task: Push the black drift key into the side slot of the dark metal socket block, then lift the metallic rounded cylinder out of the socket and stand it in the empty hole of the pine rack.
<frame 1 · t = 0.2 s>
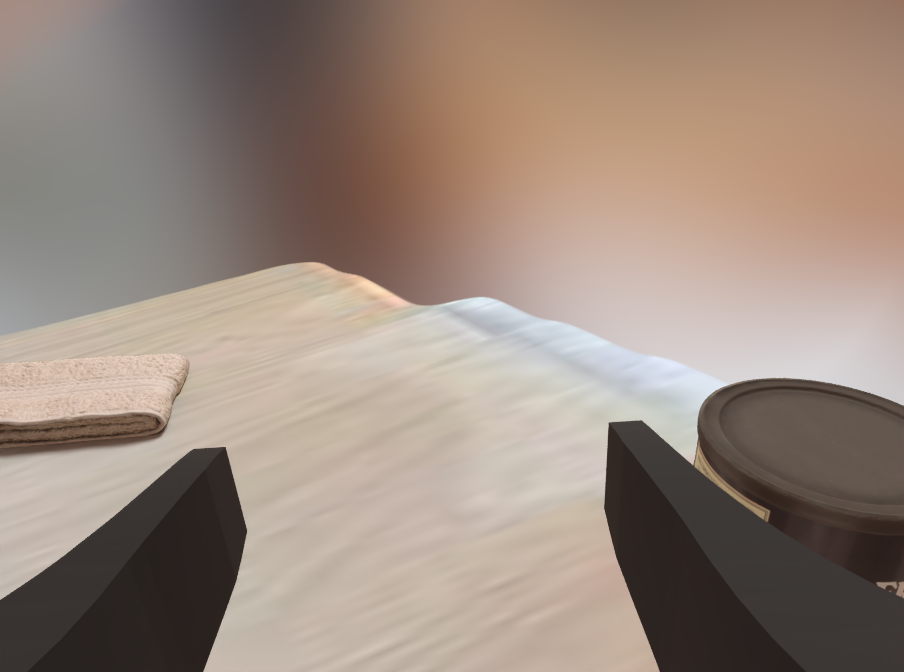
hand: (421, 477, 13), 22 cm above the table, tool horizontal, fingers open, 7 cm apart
washcloth: (75, 413, 58), on the table
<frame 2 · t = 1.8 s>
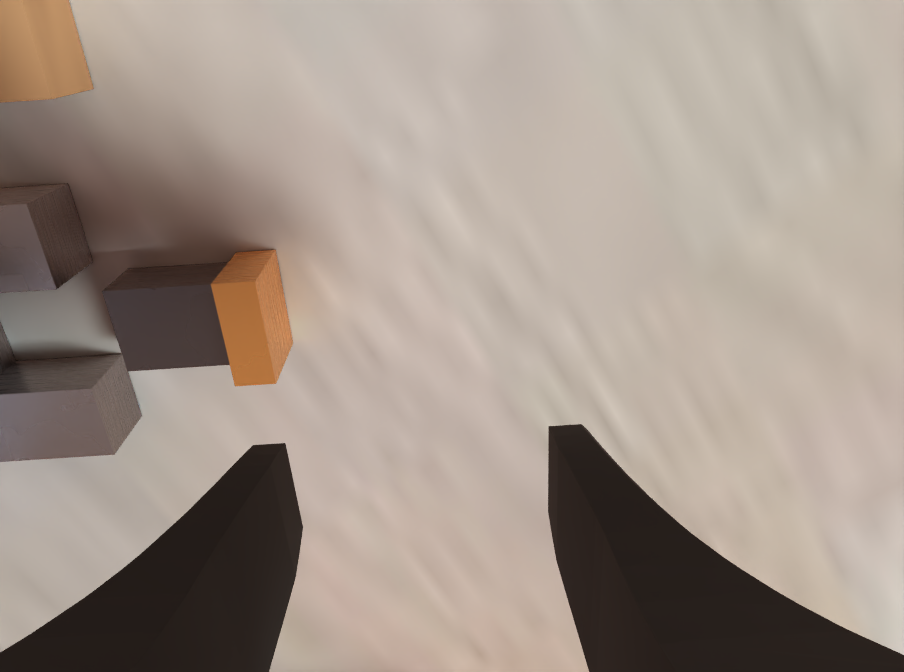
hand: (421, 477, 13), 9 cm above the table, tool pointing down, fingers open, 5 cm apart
drift key: (199, 320, 20), point 1 cm above the table, slide at 0.0 cm
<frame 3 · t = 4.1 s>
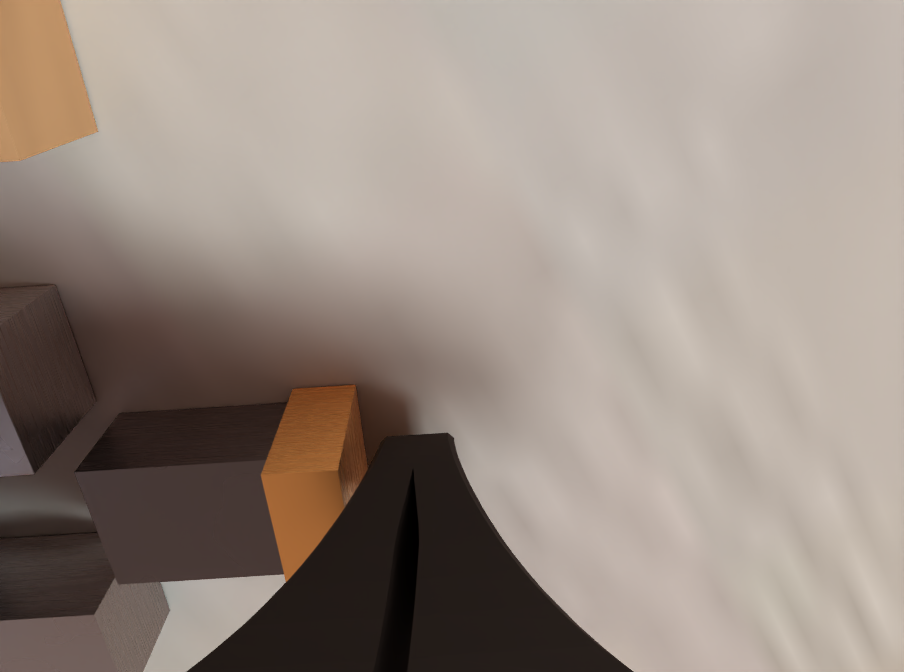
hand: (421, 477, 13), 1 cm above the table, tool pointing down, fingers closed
drift key: (234, 504, 12), point 1 cm above the table, slide at 0.7 cm, touching gripper
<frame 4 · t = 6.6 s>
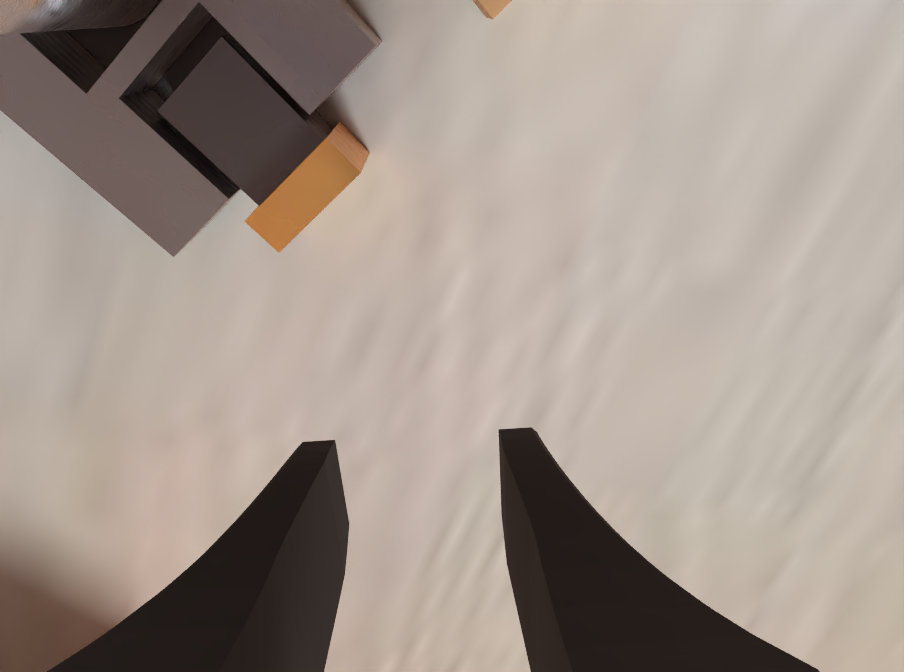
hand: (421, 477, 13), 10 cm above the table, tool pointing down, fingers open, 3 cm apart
socket block: (157, 16, 18), on the table
drift key: (263, 139, 18), point 1 cm above the table, slide at 3.7 cm
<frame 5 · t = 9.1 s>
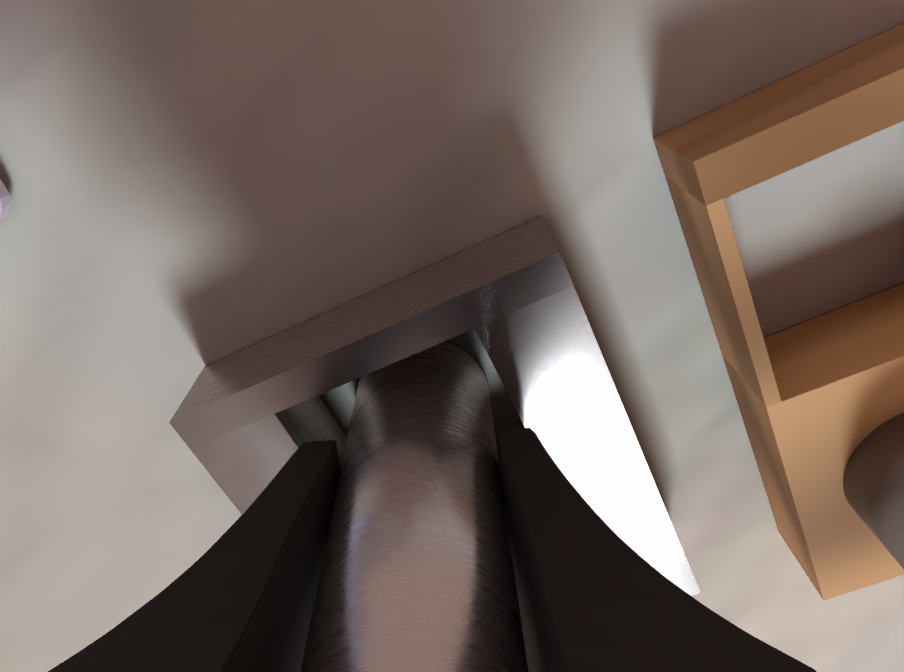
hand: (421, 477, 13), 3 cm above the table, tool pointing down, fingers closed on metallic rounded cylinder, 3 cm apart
socket block: (454, 451, 16), on the table
rack: (837, 321, 15), on the table
drift key: (525, 605, 16), point 1 cm above the table, slide at 3.7 cm
metallic rounded cylinder: (423, 396, 15), resting in socket block, touching gripper
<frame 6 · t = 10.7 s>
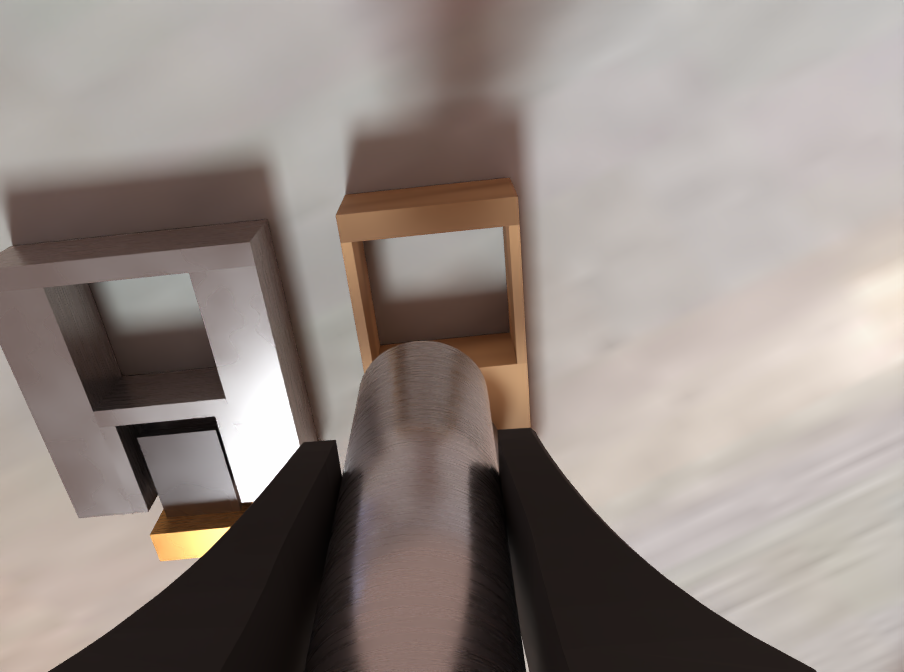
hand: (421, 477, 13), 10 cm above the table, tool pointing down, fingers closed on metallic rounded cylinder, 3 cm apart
socket block: (179, 360, 23), on the table
rack: (445, 346, 23), on the table
drift key: (199, 480, 23), point 1 cm above the table, slide at 3.7 cm
metallic rounded cylinder: (423, 398, 16), point 7 cm above the table, touching gripper
when the fingers open (4 cm above the table, at t = 12.2 s): metallic rounded cylinder stays where it is, resting in rack.
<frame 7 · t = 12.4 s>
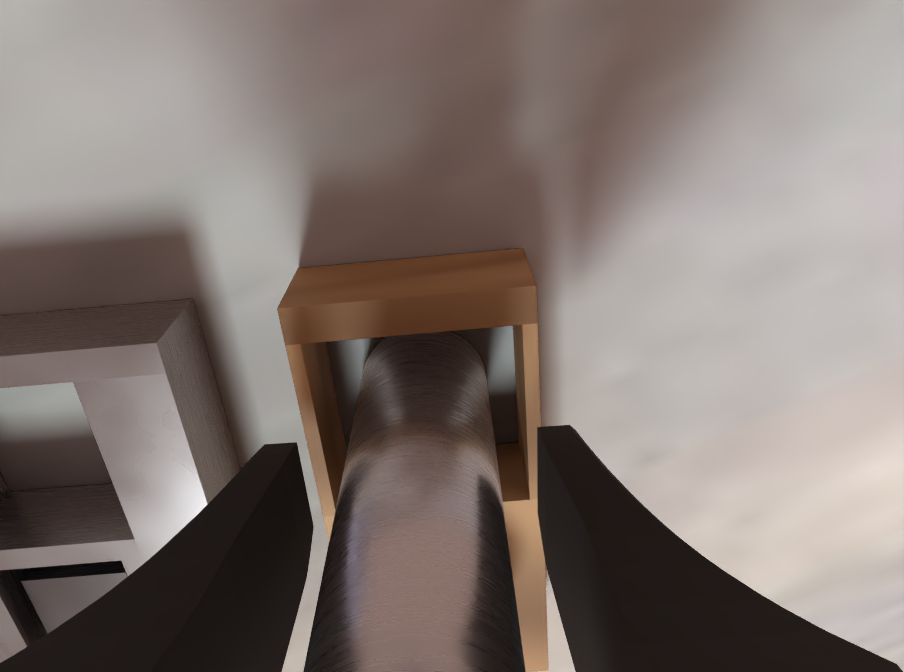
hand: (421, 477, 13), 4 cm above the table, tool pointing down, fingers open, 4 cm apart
socket block: (83, 472, 17), on the table
rack: (434, 459, 17), on the table
drift key: (111, 625, 18), point 1 cm above the table, slide at 3.7 cm
metallic rounded cylinder: (424, 381, 16), resting in rack
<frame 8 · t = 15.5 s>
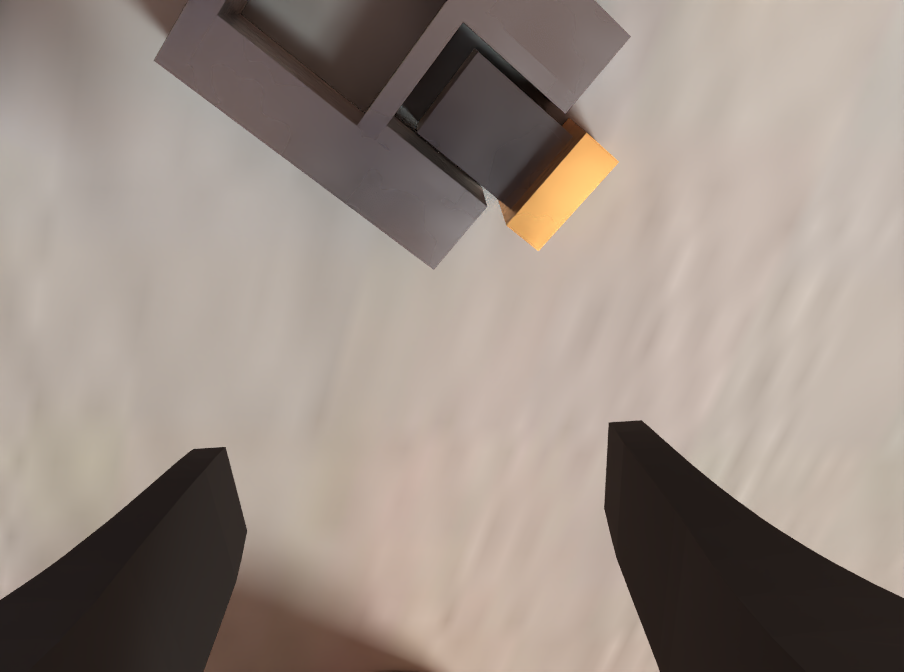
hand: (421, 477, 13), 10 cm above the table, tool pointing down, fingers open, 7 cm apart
socket block: (396, 43, 19), on the table
drift key: (509, 145, 19), point 1 cm above the table, slide at 3.7 cm
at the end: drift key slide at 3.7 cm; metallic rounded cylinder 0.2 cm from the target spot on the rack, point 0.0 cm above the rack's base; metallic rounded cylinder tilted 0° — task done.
